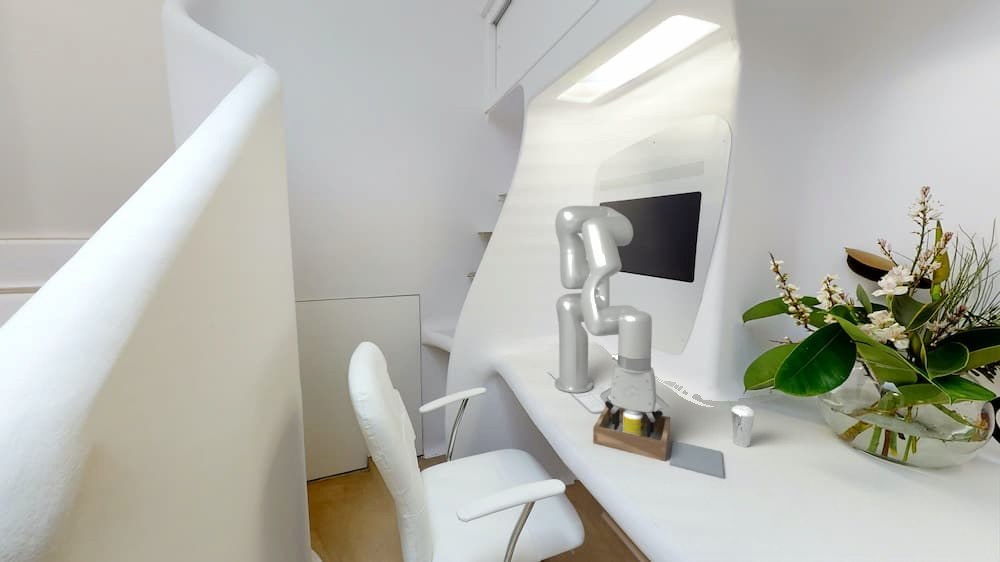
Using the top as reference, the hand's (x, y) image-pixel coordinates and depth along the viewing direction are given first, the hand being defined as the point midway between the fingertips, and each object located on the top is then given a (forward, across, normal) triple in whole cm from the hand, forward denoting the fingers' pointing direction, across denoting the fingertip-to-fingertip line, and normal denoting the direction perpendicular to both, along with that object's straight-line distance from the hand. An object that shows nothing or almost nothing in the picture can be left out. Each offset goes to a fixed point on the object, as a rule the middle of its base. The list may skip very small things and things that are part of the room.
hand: (632, 430), depth 90 cm
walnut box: (+2, 0, 0) cm, 2 cm away
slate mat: (+2, +14, -3) cm, 14 cm away
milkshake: (+2, +23, +9) cm, 25 cm away
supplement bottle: (+2, 0, 0) cm, 2 cm away
